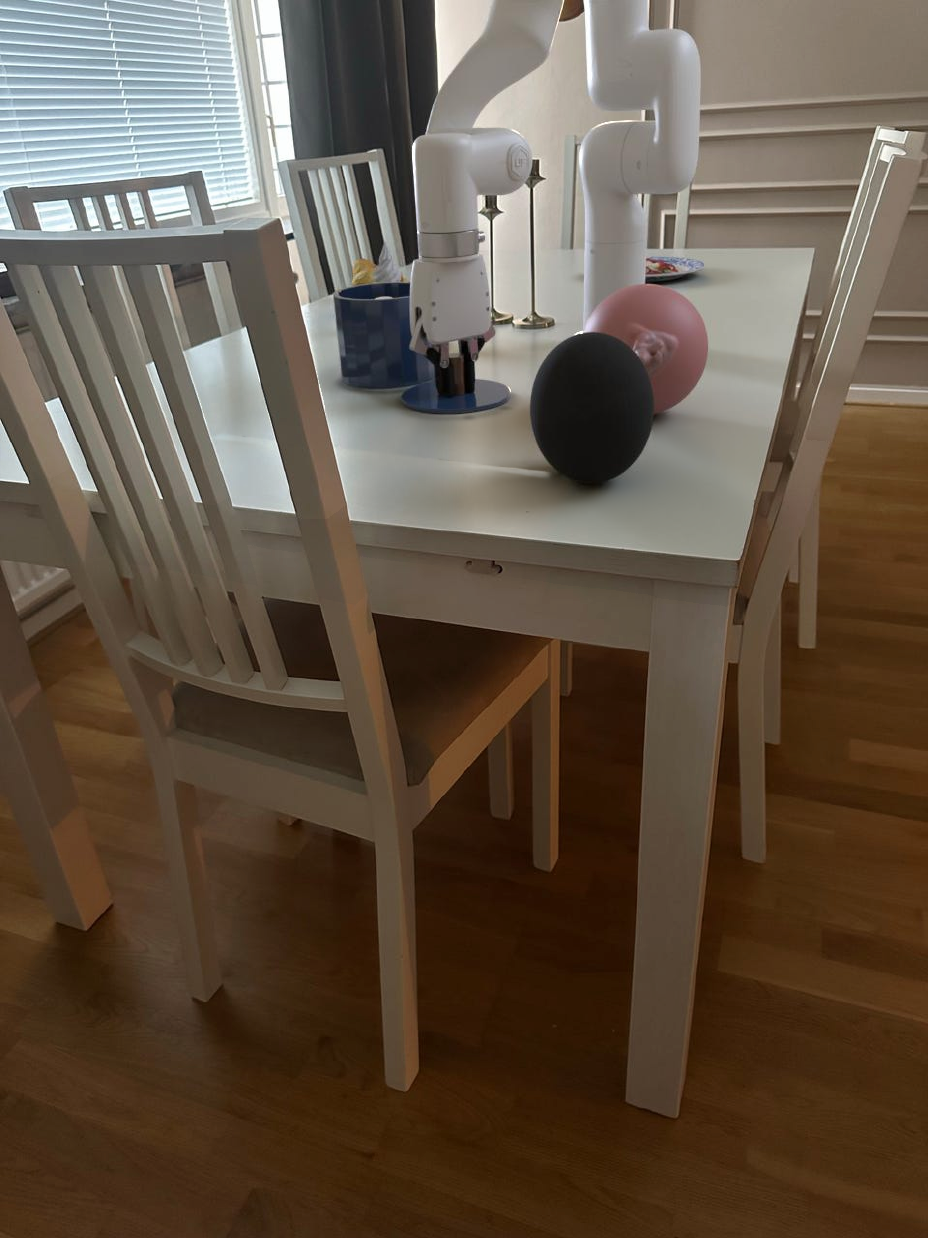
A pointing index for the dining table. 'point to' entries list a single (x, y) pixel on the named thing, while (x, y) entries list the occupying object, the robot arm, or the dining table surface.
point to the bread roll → (366, 272)
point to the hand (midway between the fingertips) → (455, 391)
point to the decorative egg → (592, 407)
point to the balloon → (657, 337)
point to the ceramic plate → (670, 268)
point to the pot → (378, 337)
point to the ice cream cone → (386, 268)
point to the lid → (456, 393)
